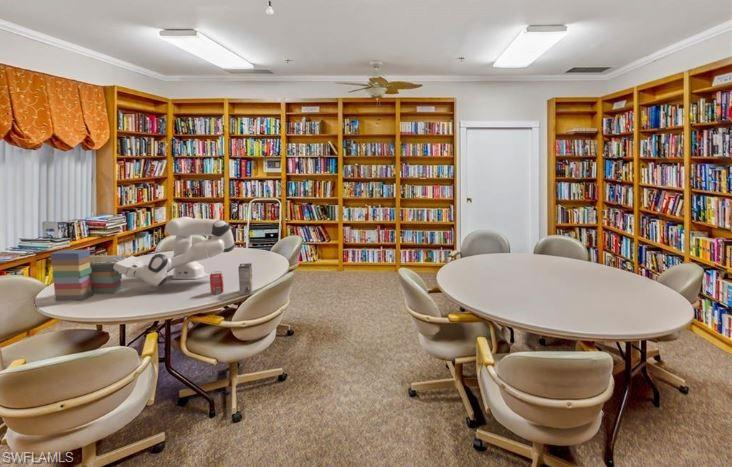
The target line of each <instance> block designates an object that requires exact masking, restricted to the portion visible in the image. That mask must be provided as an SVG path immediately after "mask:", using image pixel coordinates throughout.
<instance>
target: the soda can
mask: <svg viewBox="0 0 732 467" xmlns="http://www.w3.org/2000/svg"><path fill="white" fill-rule="evenodd" d="M209 284H210V285H209V286H210V288H209V289H210V293H211V294H213V295H219V294H222V293H224V291H225V290H224V288H225V287H224V274H223V273H222V271H219V270H218V271H217V270H216V271H212V272H210V275H209Z"/></svg>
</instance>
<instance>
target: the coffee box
mask: <svg viewBox="0 0 732 467" xmlns="http://www.w3.org/2000/svg"><path fill="white" fill-rule="evenodd" d="M252 269H253V268H252V262H250V263H240V264H239V266H238V283H239V284H238V285H239V287H238V288H239V295H251V294H252V291H253V273H252V272H253V271H252Z"/></svg>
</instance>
